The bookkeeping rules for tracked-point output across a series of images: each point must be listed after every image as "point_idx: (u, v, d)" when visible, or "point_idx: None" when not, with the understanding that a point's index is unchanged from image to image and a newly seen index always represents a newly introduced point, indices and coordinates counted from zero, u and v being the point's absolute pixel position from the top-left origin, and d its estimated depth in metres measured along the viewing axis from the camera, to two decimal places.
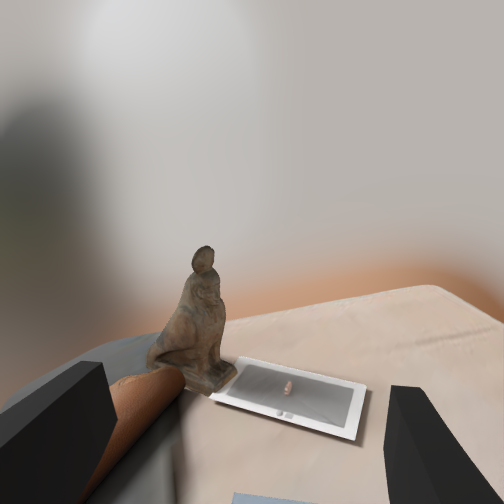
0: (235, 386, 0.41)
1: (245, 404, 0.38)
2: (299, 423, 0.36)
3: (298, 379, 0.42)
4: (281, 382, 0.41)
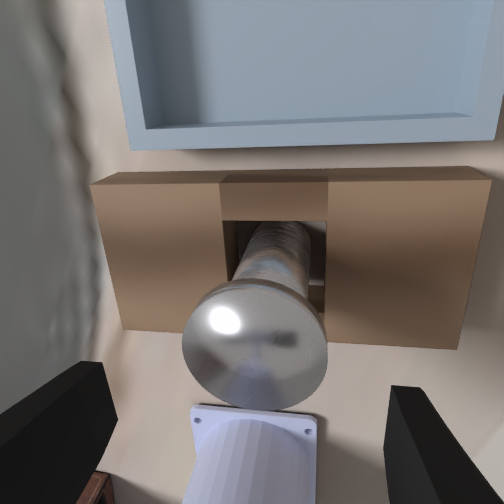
0: None
1: None
2: None
3: None
4: None
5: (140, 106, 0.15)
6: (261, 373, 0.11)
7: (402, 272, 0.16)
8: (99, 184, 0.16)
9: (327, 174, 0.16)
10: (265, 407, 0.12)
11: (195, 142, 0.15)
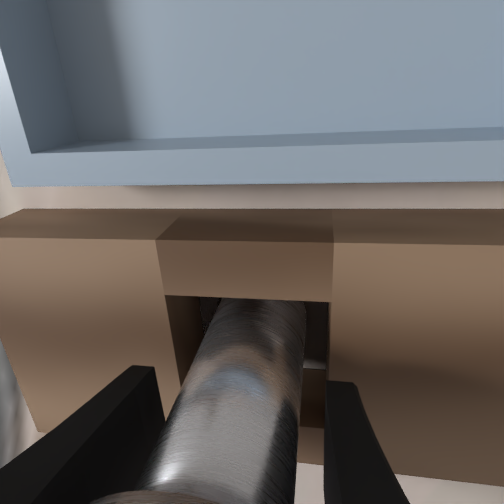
0: None
1: None
2: None
3: None
4: None
5: (17, 115, 0.09)
6: None
7: (453, 381, 0.10)
8: None
9: (331, 223, 0.10)
10: None
11: (113, 174, 0.09)
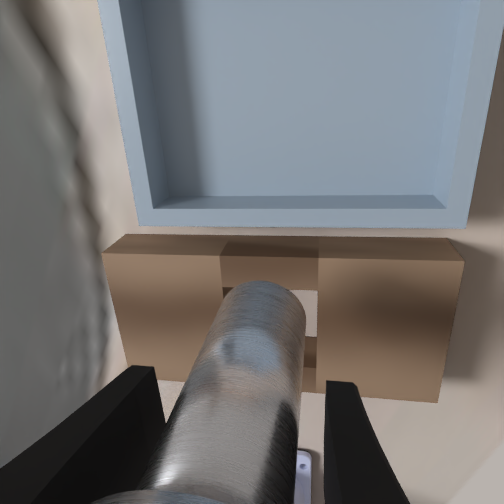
0: None
1: None
2: None
3: None
4: None
5: (148, 189, 0.16)
6: None
7: (386, 335, 0.17)
8: (110, 252, 0.18)
9: (318, 245, 0.17)
10: None
11: (198, 220, 0.16)
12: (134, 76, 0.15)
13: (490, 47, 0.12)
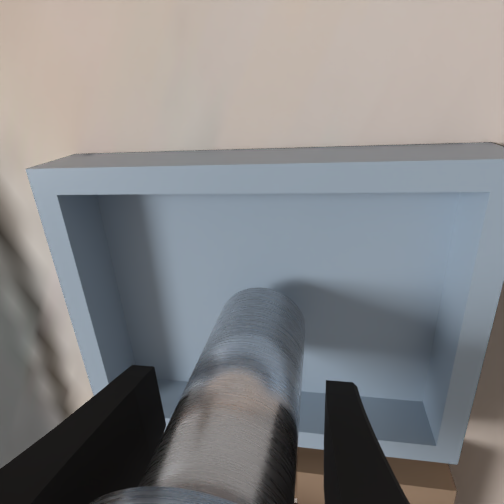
0: None
1: None
2: None
3: None
4: None
5: None
6: None
7: None
8: None
9: None
10: None
11: None
12: (90, 295, 0.13)
13: (484, 314, 0.11)
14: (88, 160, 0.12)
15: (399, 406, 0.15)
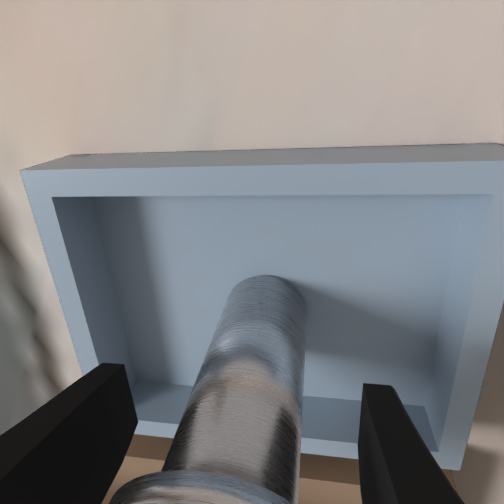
0: None
1: None
2: None
3: None
4: None
5: None
6: None
7: None
8: None
9: None
10: None
11: (163, 432, 0.15)
12: (85, 298, 0.13)
13: (488, 319, 0.10)
14: (83, 161, 0.12)
15: None
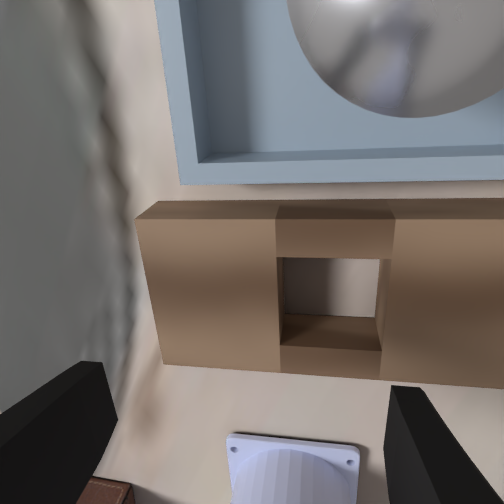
0: None
1: None
2: None
3: None
4: None
5: (193, 139, 0.14)
6: (447, 8, 0.06)
7: (470, 312, 0.15)
8: (144, 218, 0.15)
9: (389, 207, 0.15)
10: (438, 107, 0.06)
11: (252, 176, 0.14)
12: None
13: None
14: None
15: None
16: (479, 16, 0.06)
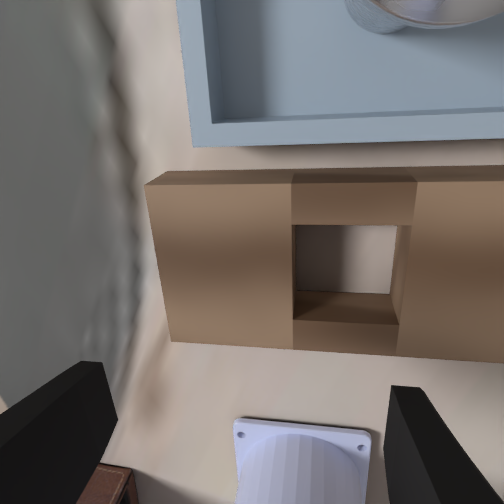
0: None
1: None
2: None
3: None
4: None
5: (207, 97, 0.13)
6: None
7: (493, 281, 0.14)
8: (154, 184, 0.15)
9: (409, 173, 0.14)
10: (484, 8, 0.06)
11: (268, 137, 0.13)
12: None
13: None
14: None
15: None
16: None
